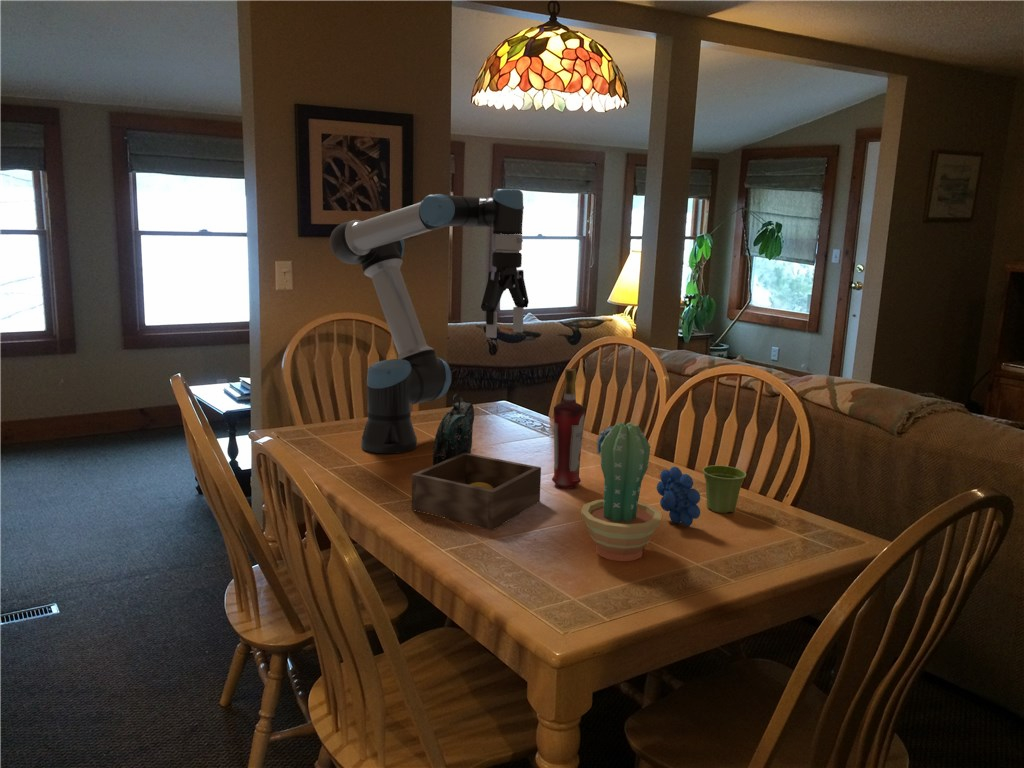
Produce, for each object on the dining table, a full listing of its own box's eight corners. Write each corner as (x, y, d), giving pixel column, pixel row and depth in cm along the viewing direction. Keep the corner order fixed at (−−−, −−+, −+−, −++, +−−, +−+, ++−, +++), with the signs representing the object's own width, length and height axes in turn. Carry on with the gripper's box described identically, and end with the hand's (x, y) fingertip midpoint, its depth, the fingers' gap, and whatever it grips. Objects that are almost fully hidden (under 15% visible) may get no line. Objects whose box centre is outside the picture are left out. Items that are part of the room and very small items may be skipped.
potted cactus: (651, 536, 161) (659, 416, 156) (667, 569, 146) (676, 436, 141) (575, 535, 161) (580, 414, 156) (583, 567, 146) (589, 434, 141)
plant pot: (744, 505, 181) (747, 468, 180) (741, 518, 173) (745, 480, 171) (702, 499, 184) (704, 463, 183) (697, 512, 176) (700, 474, 174)
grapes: (641, 518, 171) (645, 464, 169) (663, 512, 175) (667, 459, 173) (683, 536, 162) (687, 479, 160) (705, 529, 166) (710, 473, 164)
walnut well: (411, 510, 172) (411, 474, 171) (463, 484, 190) (464, 452, 188) (492, 530, 162) (493, 492, 161) (539, 501, 180) (541, 467, 178)
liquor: (556, 478, 196) (560, 366, 191) (585, 482, 194) (590, 369, 188) (546, 487, 190) (551, 371, 184) (576, 491, 187) (581, 374, 181)
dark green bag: (455, 463, 207) (457, 387, 203) (479, 465, 205) (481, 389, 201) (427, 486, 188) (427, 403, 184) (453, 489, 186) (454, 405, 182)
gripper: (494, 253, 191) (492, 341, 195) (543, 251, 212) (540, 330, 216) (467, 251, 194) (466, 338, 199) (518, 250, 216) (516, 328, 220)
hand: (504, 334), depth 207 cm, fingers open, 13 cm apart
